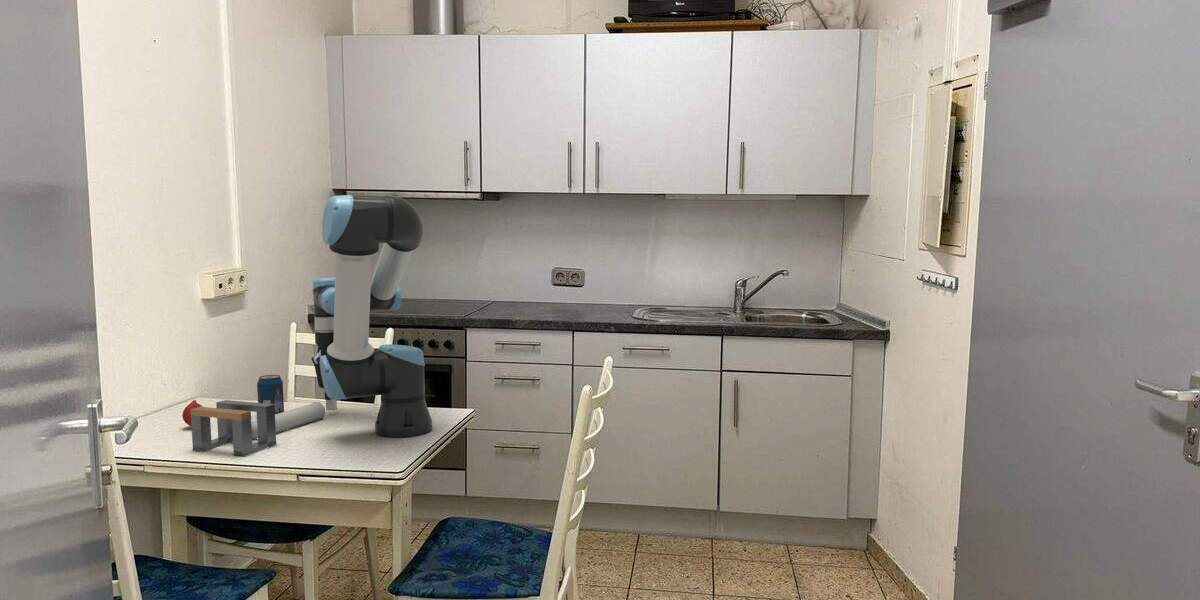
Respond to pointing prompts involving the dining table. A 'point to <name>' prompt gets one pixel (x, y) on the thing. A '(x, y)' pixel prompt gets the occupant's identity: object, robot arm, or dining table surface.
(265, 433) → the gray frame
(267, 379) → the soda can
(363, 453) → the dining table surface
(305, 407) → the tube
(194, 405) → the onion
